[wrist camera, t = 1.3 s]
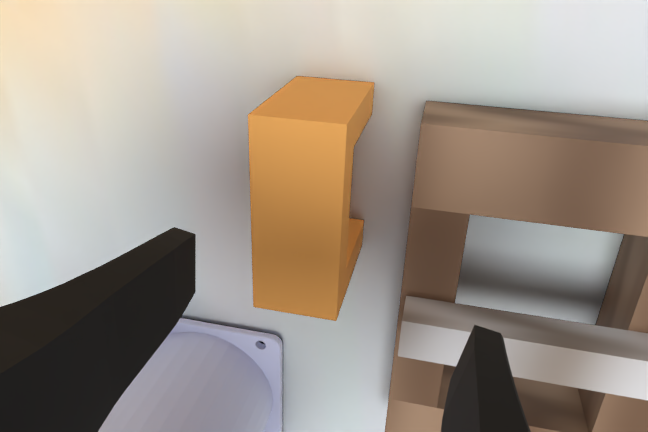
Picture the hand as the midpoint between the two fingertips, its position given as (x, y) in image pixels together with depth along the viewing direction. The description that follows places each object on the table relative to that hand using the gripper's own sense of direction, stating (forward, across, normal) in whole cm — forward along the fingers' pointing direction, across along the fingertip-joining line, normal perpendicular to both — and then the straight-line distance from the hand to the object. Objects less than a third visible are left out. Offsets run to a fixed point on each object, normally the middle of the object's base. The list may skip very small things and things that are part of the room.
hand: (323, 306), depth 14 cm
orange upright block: (+9, +2, +2) cm, 10 cm away
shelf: (+9, -7, +5) cm, 13 cm away
